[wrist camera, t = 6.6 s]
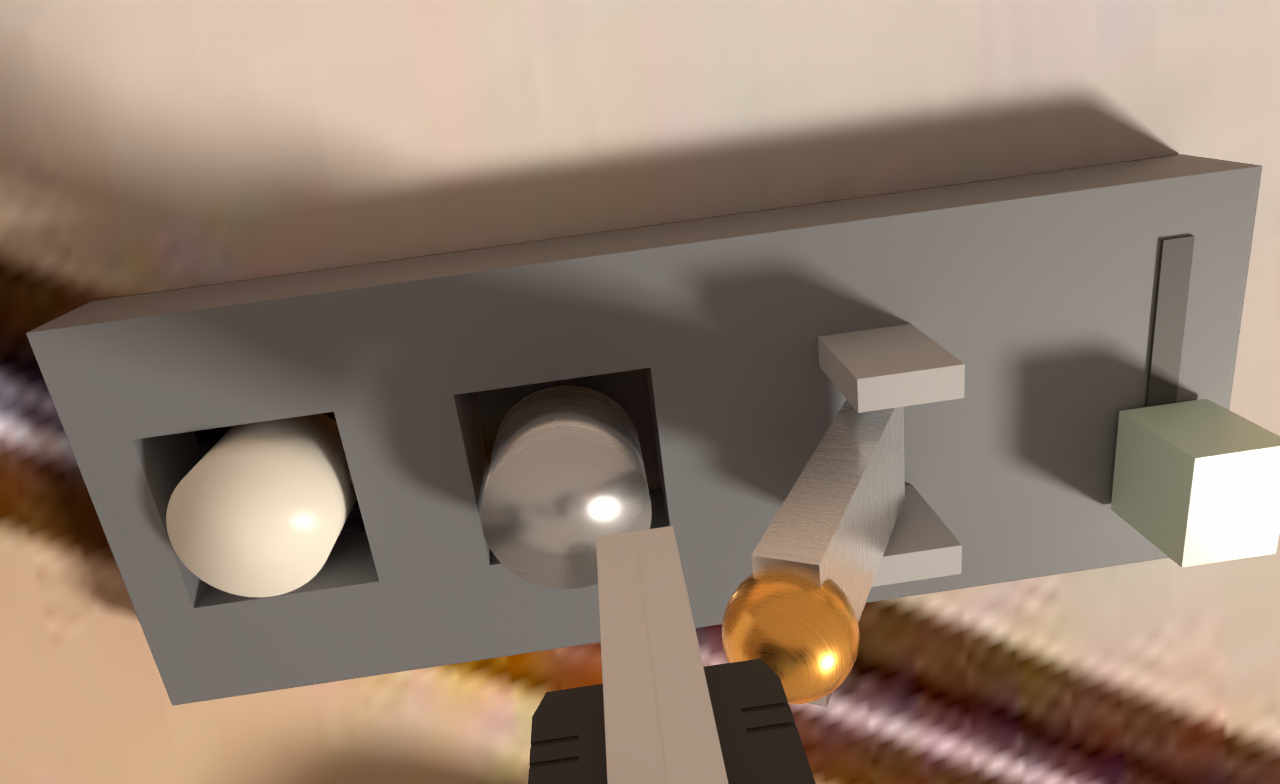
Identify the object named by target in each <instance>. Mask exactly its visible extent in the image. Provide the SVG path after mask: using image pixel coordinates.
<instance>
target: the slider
mask: <svg viewBox="0 0 1280 784" xmlns="http://www.w3.org/2000/svg"><path fill="white" fill-rule="evenodd" d="M1111 510H1112V511H1113V512H1115V513H1116V514H1117V515H1118V516H1119V517H1121V518H1122V519H1123V520H1124V521H1126V522H1127V523H1128V524H1129V525H1130V526H1132V527H1133V528H1134V529H1135V530H1137V531H1138V532H1139V533H1140V534H1141V535H1143V536H1144V537H1145V538H1146V539H1148V540H1149V541H1150V542H1151V543H1153V544H1154V545H1155V546H1156V547H1157V548H1159V549H1160V550H1161V551H1162V552H1164V553H1165V554H1166V555H1167V556H1168V557H1170V558H1171V559H1172V560H1173V561H1175V562H1176V563H1177V564H1178V565H1179V566H1181V567H1188V566H1195V565H1201V564H1208V563H1215V562H1222V561H1228V560H1235V559H1242V558H1248V557H1255V556H1262V555H1269V554H1275V553H1276V549H1277V543H1278V537H1279V531H1280V436H1278V435H1276V434H1274V433H1272V432H1270V431H1268V430H1266V429H1264V428H1262V427H1260V426H1258V425H1256V424H1255V423H1253V422H1251V421H1249V420H1247V419H1245V418H1243V417H1241V416H1239V415H1237V414H1235V413H1233V412H1231V411H1230V410H1228V409H1226V408H1224V407H1222V406H1220V405H1218V404H1216V403H1214V402H1212V401H1210V400H1208V399H1200V400H1193V401H1186V402H1179V403H1172V404H1165V405H1158V406H1151V407H1144V408H1137V409H1130V410H1123V411H1119V420H1118V432H1117V444H1116V455H1115V467H1114V478H1113V490H1112V501H1111Z"/></svg>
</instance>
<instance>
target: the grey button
mask: <svg viewBox="0 0 1280 784" xmlns="http://www.w3.org/2000/svg"><path fill="white" fill-rule="evenodd" d="M651 517H652V509H651V500H650V495H649V490H648V484H647V479H646V474H645V468H644V463H643V458H642V452H641V447H640V442H639V437H638V433H637V431H636V428H635V426H634V424H633V422H632V420H631V418H630V417H629V416H628V414H627V413H626V411H625V410H624V409H623V408H622V407H621V406H620V405H619V404H618V403H616V402H615V401H614V400H613V399H611V398H609V397H608V396H606V395H604V394H602V393H600V392H598V391H596V390H593V389H589V388H586V387H581V386H572V385H562V386H554V387H549V388H545V389H542V390H539V391H536V392H534V393H532V394H530V395H528V396H526V397H525V398H523V399H522V400H520V401H519V402H518V403H517V404H516V405H514V406H513V407H512V408H511V410H510V411H509V412H508V413H507V414H506V416H505V417H504V419H503V420H502V422H501V424H500V426H499V428H498V430H497V433H496V436H495V440H494V445H493V450H492V455H491V460H490V465H489V470H488V475H487V480H486V485H485V490H484V495H483V500H482V506H481V523H482V529H483V533H484V536H485V539H486V541H487V543H488V546H489V548H490V549H491V551H492V552H493V554H494V555H495V557H496V558H497V559H498V560H499V561H500V563H501V564H502V565H504V566H505V567H506V568H507V569H508V570H509V571H511V572H512V573H514V574H515V575H516V576H518V577H520V578H522V579H524V580H526V581H528V582H530V583H533V584H536V585H539V586H543V587H547V588H554V589H576V588H583V587H588V586H592V585H595V584H598V569H597V547H596V537H599V536H606V535H613V534H620V533H627V532H633V531H640V530H647V529H650V525H651Z"/></svg>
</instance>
